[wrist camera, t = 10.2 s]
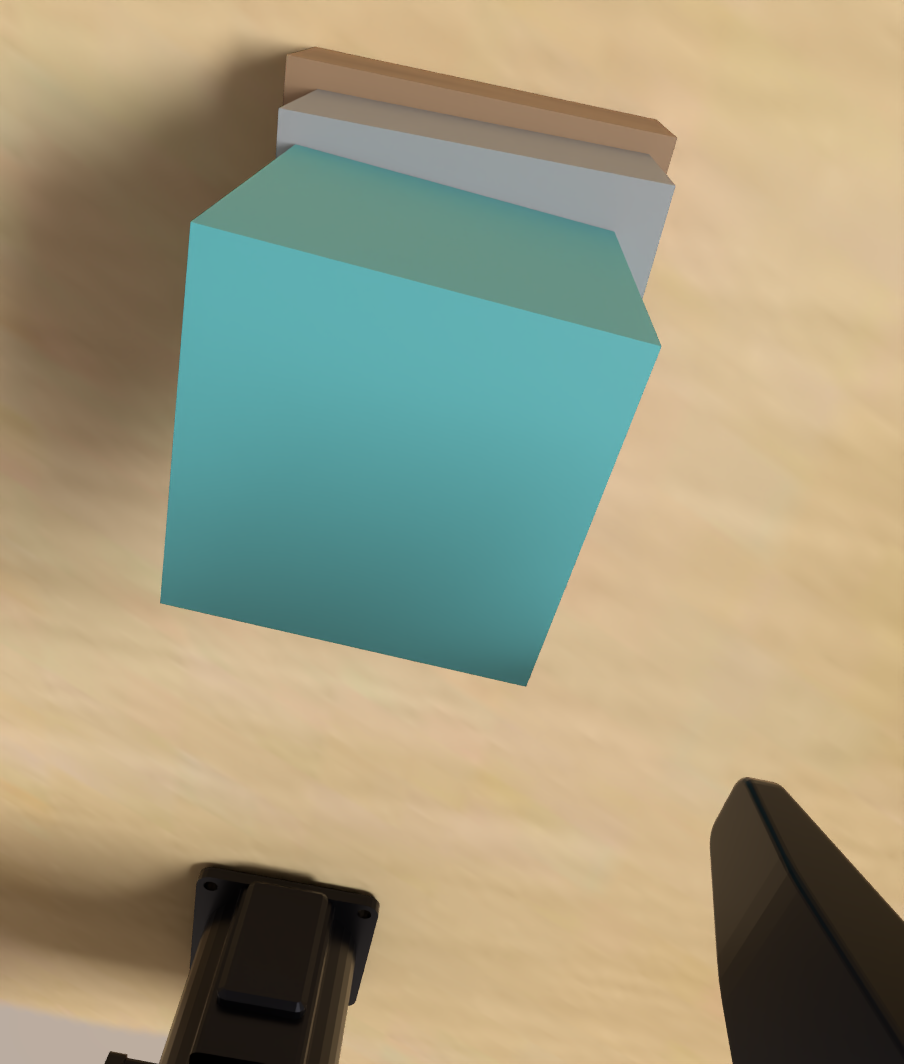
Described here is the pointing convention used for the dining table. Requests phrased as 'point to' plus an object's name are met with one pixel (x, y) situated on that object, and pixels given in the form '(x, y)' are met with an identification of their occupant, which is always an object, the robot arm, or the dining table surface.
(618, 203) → the grey middle block
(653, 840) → the dining table surface
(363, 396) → the teal cube
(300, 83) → the walnut base block
